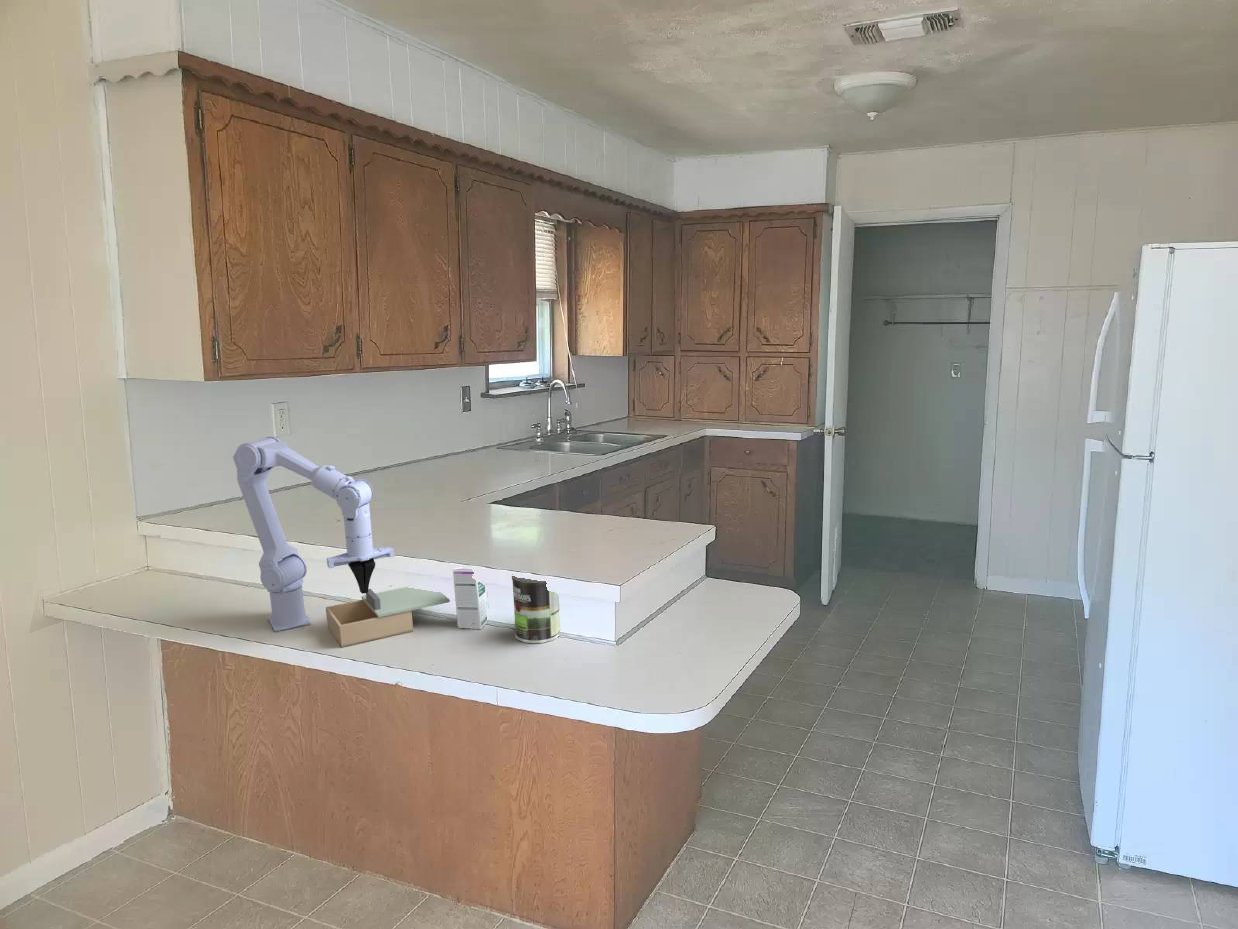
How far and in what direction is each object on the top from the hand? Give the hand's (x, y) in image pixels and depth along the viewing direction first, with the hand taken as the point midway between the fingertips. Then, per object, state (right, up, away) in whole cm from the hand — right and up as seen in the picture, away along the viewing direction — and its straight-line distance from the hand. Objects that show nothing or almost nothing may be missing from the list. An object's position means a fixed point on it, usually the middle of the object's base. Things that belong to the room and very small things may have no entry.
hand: (364, 592), depth 200 cm
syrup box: (+24, -8, +3) cm, 26 cm away
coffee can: (+40, -9, -4) cm, 41 cm away
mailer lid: (+8, -3, +5) cm, 10 cm away
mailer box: (+1, -9, +2) cm, 9 cm away
